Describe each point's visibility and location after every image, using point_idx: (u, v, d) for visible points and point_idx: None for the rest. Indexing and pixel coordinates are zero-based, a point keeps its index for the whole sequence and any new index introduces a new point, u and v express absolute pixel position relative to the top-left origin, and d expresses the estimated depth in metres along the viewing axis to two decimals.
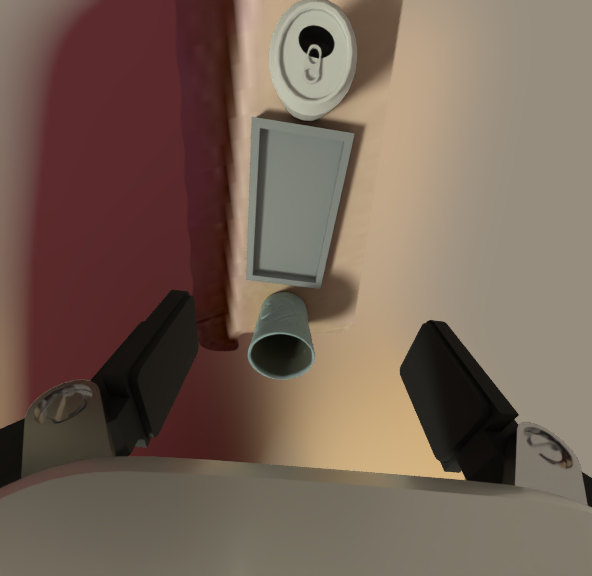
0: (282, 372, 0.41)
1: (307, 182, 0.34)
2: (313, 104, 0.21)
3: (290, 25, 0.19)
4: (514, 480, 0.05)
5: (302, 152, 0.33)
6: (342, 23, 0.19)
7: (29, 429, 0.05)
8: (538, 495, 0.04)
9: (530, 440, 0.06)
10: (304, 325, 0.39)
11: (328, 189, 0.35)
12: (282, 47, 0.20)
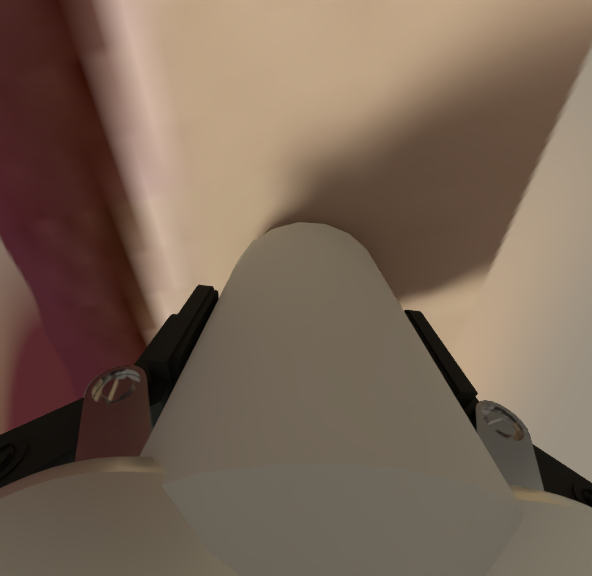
0: None
1: None
2: None
3: None
4: None
5: None
6: None
7: (90, 407, 0.05)
8: (538, 495, 0.04)
9: (487, 418, 0.06)
10: None
11: None
12: None
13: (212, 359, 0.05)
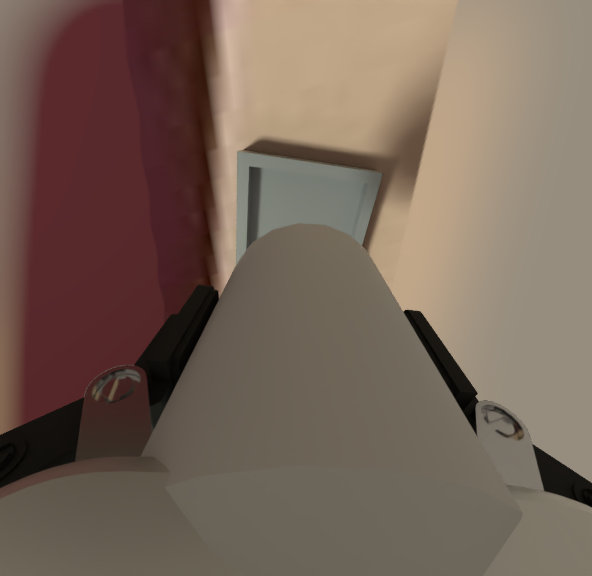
0: None
1: None
2: None
3: None
4: None
5: (308, 195, 0.24)
6: None
7: (90, 407, 0.05)
8: (538, 495, 0.04)
9: (487, 418, 0.06)
10: None
11: None
12: None
13: (212, 361, 0.05)
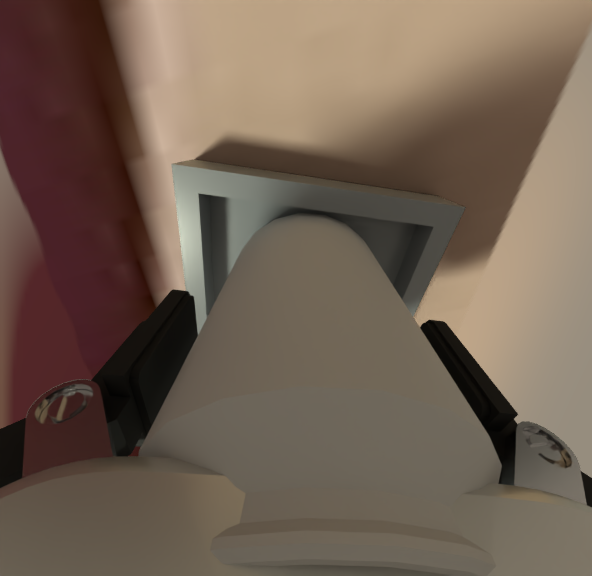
0: None
1: None
2: None
3: None
4: (513, 480, 0.05)
5: None
6: None
7: (30, 428, 0.05)
8: (538, 495, 0.04)
9: (529, 440, 0.06)
10: None
11: None
12: None
13: (224, 324, 0.06)
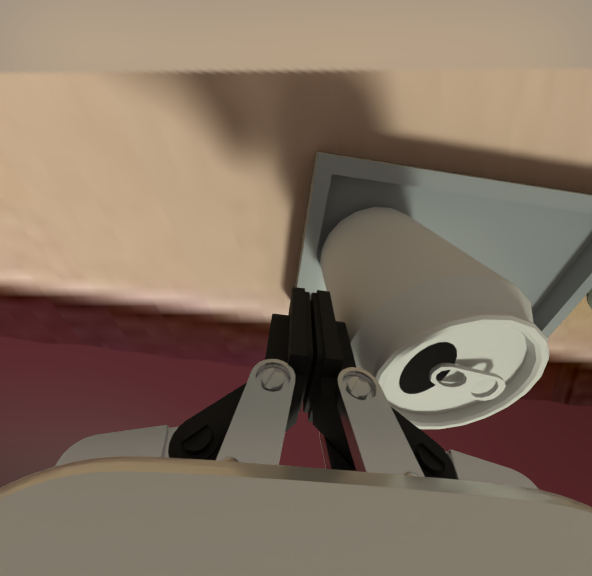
0: None
1: None
2: (537, 378, 0.09)
3: (391, 404, 0.10)
4: (357, 445, 0.05)
5: None
6: (421, 341, 0.08)
7: (262, 394, 0.06)
8: (538, 495, 0.04)
9: (349, 387, 0.07)
10: None
11: (412, 195, 0.17)
12: (415, 412, 0.11)
13: None
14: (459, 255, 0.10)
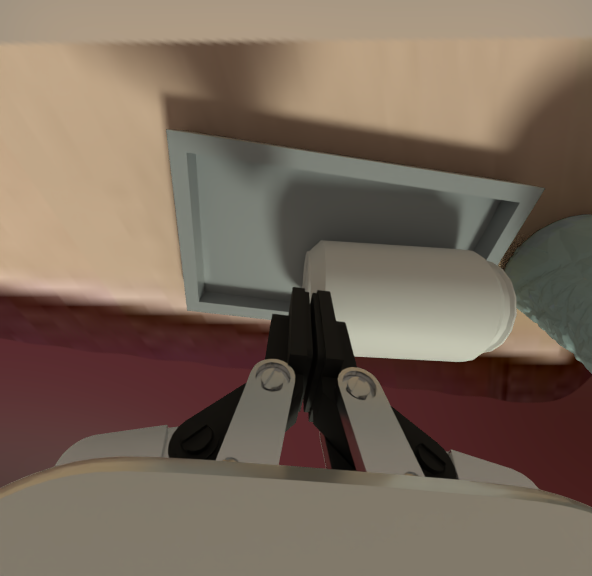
0: None
1: (276, 221, 0.18)
2: None
3: None
4: (358, 445, 0.05)
5: (227, 231, 0.18)
6: None
7: (261, 394, 0.06)
8: (538, 495, 0.04)
9: (349, 387, 0.07)
10: None
11: (288, 177, 0.16)
12: None
13: None
14: (465, 272, 0.14)
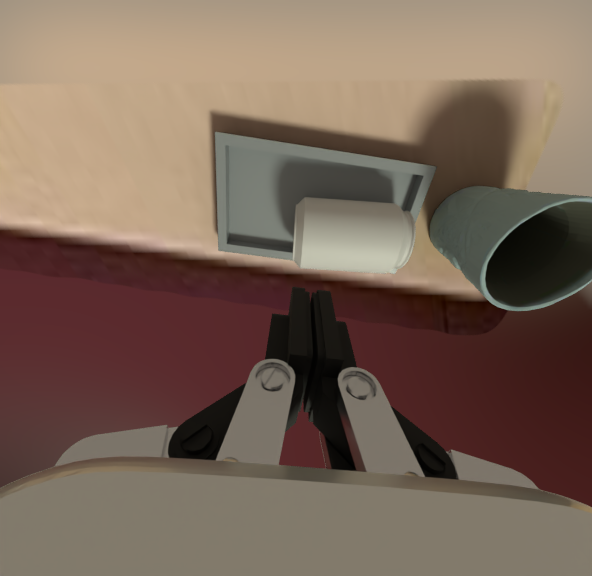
0: (590, 257, 0.21)
1: (277, 189, 0.28)
2: None
3: None
4: (357, 445, 0.05)
5: (246, 196, 0.29)
6: None
7: (262, 394, 0.06)
8: (538, 495, 0.04)
9: (349, 387, 0.07)
10: (495, 206, 0.22)
11: (285, 161, 0.27)
12: None
13: None
14: (384, 211, 0.24)
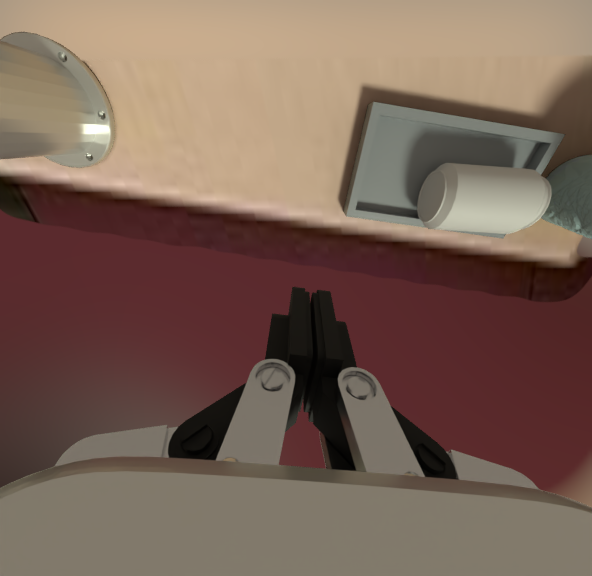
0: None
1: (409, 157, 0.31)
2: None
3: None
4: (357, 445, 0.05)
5: (379, 165, 0.31)
6: None
7: (261, 394, 0.06)
8: (538, 495, 0.04)
9: (349, 387, 0.07)
10: None
11: (422, 130, 0.29)
12: None
13: (488, 232, 0.31)
14: (525, 173, 0.27)
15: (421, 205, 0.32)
